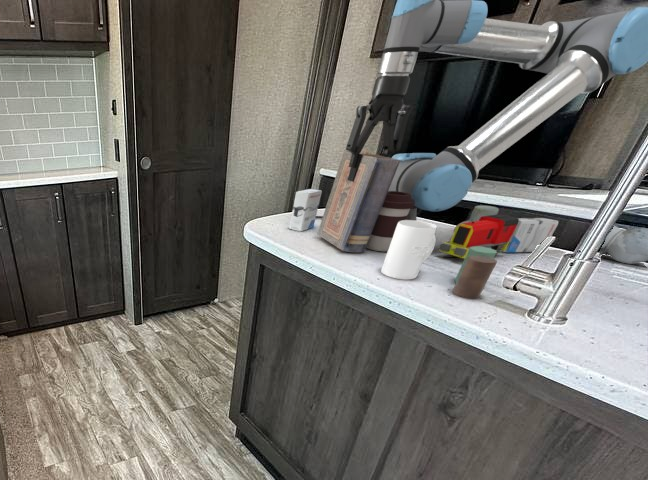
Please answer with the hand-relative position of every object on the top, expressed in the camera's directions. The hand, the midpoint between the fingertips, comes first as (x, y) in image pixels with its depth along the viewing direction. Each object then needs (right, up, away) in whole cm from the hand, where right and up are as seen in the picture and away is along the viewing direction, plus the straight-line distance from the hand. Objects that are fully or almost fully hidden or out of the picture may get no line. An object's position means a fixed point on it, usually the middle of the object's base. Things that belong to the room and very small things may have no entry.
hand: (363, 180), depth 108 cm
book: (-2, -14, +10) cm, 18 cm away
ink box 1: (-7, -3, +26) cm, 27 cm away
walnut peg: (+12, -35, -20) cm, 42 cm away
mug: (+5, -28, -9) cm, 30 cm away
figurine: (+66, -16, +1) cm, 68 cm away
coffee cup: (+9, -16, +8) cm, 20 cm away
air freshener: (+40, -13, +12) cm, 44 cm away
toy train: (+31, -20, +2) cm, 37 cm away
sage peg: (+17, -32, -15) cm, 39 cm away
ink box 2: (+42, -14, +3) cm, 45 cm away
